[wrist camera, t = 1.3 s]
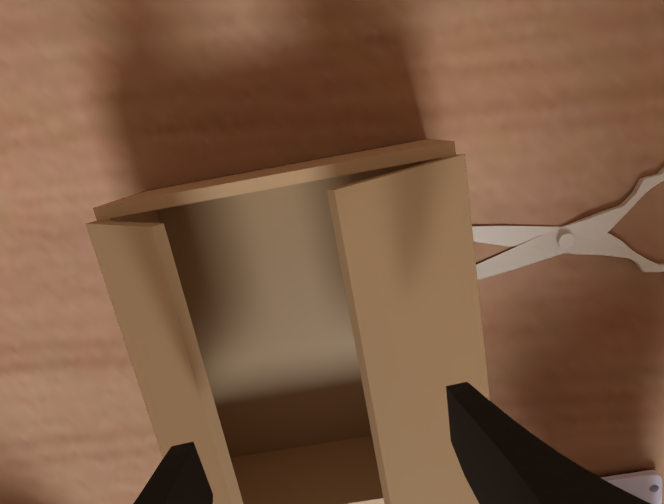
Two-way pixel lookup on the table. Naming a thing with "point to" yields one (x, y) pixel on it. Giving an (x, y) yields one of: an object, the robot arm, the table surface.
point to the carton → (278, 319)
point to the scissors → (565, 237)
